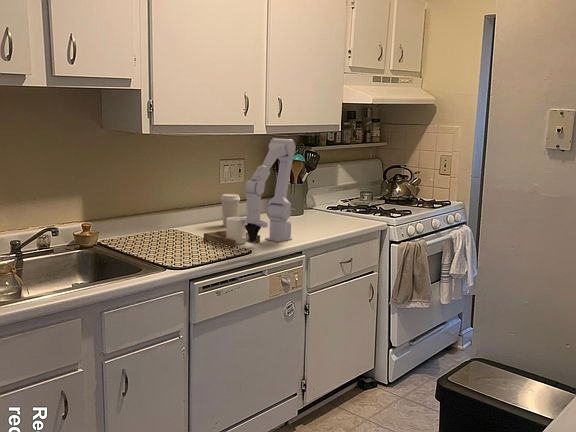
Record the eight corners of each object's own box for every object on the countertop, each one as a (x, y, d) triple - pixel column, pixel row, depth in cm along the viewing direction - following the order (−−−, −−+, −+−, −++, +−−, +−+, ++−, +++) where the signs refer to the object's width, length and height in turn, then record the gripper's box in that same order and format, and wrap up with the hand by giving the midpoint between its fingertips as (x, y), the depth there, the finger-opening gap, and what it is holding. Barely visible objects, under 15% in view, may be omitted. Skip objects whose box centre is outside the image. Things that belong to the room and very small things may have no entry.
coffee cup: (216, 224, 284) (216, 194, 282) (233, 223, 290) (233, 193, 287) (226, 228, 277) (227, 196, 274) (243, 226, 283) (244, 195, 280)
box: (231, 235, 261) (231, 228, 261) (260, 242, 250) (260, 235, 249) (203, 240, 249) (203, 233, 249) (232, 247, 238) (232, 240, 237)
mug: (256, 244, 246) (256, 220, 244) (242, 247, 240) (243, 222, 238) (235, 239, 253) (236, 216, 252) (222, 242, 247) (222, 218, 245)
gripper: (234, 208, 241) (233, 240, 243) (259, 213, 231) (258, 246, 234) (246, 206, 246) (245, 238, 248) (271, 211, 236) (270, 243, 239)
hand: (252, 242), depth 241 cm, fingers closed
